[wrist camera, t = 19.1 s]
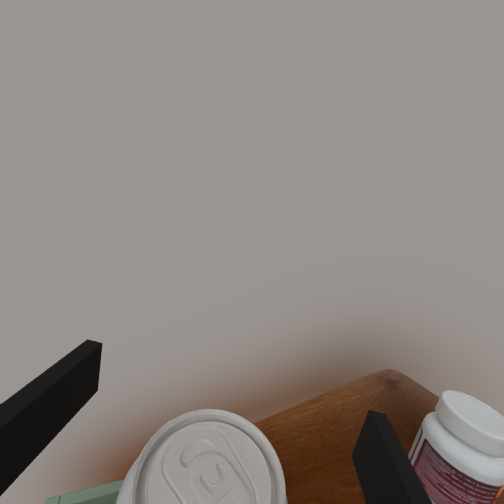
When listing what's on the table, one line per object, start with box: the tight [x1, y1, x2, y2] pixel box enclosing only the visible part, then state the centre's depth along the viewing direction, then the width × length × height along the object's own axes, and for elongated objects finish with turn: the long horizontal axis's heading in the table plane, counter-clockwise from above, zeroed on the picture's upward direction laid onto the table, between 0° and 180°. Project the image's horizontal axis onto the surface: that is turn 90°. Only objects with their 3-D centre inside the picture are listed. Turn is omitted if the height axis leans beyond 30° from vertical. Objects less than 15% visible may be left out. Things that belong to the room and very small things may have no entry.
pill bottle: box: [408, 390, 504, 504], centre depth 23 cm, size 6×6×11 cm
